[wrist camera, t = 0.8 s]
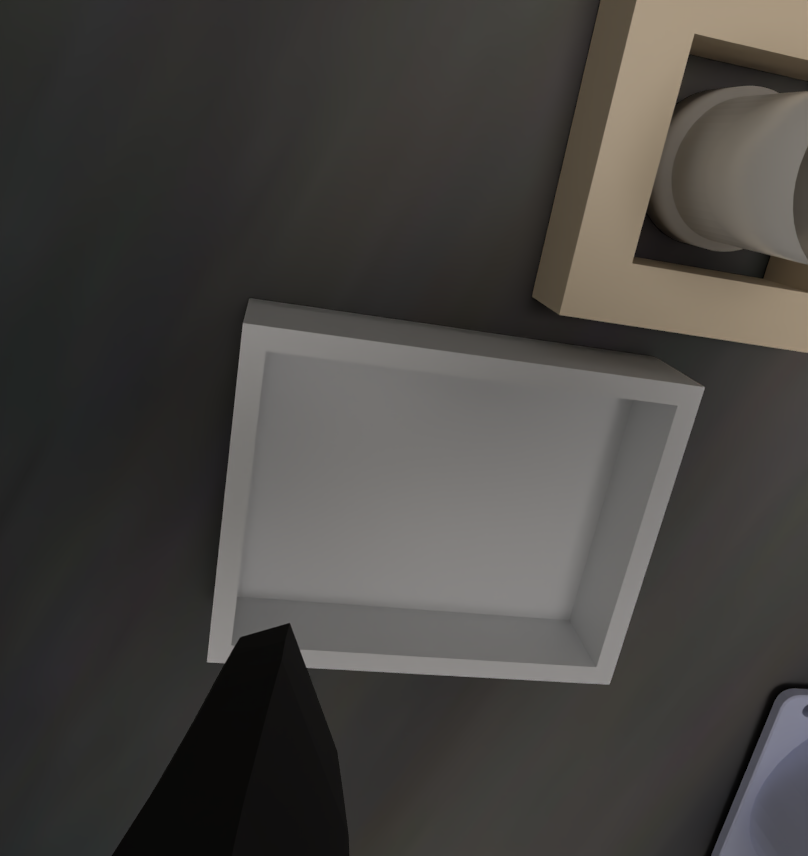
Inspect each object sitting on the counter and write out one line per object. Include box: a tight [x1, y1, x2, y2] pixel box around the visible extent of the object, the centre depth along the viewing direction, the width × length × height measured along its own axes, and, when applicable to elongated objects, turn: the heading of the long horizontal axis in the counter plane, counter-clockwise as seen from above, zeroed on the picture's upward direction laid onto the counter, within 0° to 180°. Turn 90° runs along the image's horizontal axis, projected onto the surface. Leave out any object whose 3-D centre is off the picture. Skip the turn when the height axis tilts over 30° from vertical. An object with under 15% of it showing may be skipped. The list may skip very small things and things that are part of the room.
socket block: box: [532, 0, 808, 353], centre depth 17 cm, size 7×7×2 cm
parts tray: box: [207, 298, 705, 685], centre depth 18 cm, size 10×8×2 cm
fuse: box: [646, 86, 808, 265], centre depth 14 cm, size 3×3×7 cm
